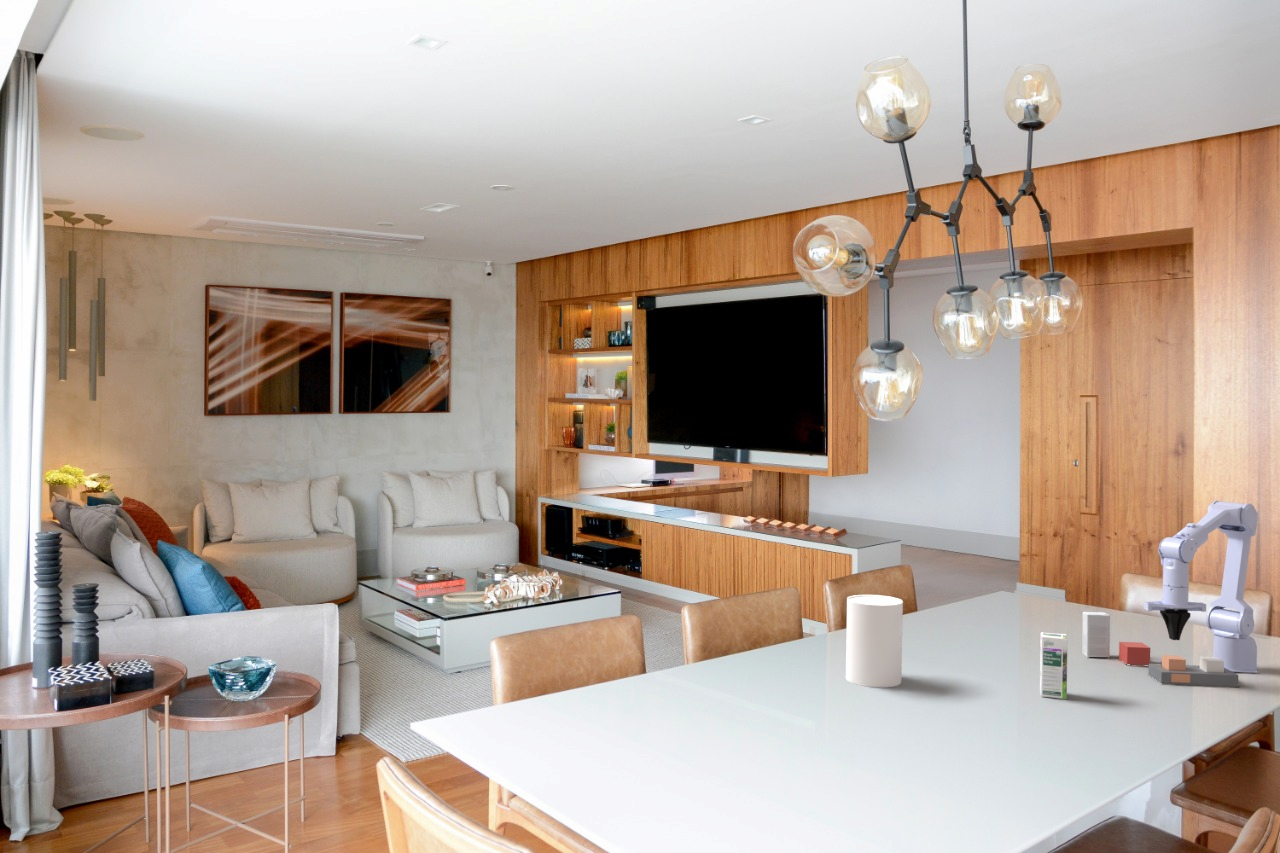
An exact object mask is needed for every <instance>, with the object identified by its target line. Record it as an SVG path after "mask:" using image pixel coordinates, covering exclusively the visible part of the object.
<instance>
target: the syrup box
mask: <svg viewBox="0 0 1280 853" xmlns="http://www.w3.org/2000/svg"><path fill="white" fill-rule="evenodd" d="M1039 640H1040V643H1039V645H1040V647H1039V648H1040V649H1039V650H1040V651H1039V655H1040V656H1039V658H1040V659H1039V661H1040V662H1039V694H1040V698H1053V699H1060V700H1067V695H1068V694H1067V693H1068V692H1067V691H1068V690H1067V689H1068V688H1067V687H1068V640H1069V639H1068V636H1067V634H1066V633H1053V632H1043V631H1042V632H1040V639H1039Z"/></svg>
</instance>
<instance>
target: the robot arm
mask: <svg viewBox="0 0 1280 853" xmlns="http://www.w3.org/2000/svg"><path fill="white" fill-rule="evenodd" d="M1258 517H1259V514H1258V511H1257V509H1256V508H1255V505H1254V504H1252V503H1240V502H1231V501H1229V502H1227V501H1219V500H1214V501H1213V502H1211V504H1209V505H1208V507H1207V513H1206V514H1205V515H1204V516H1203V517H1202V518H1201V519H1200V520H1199V521H1198V522H1197V523H1195V522H1193V523H1191V522H1189V523H1187V524H1186V526H1184V528H1182V529H1181V530H1180V531H1178V532H1177V533H1176V534H1174V535H1173V536H1172V537H1171V536H1170V537H1169V536H1168V537H1167V536H1166V537H1165V538H1163V539H1162V540H1160V542H1159V546H1158V548H1157V552H1158V556H1159V558H1160V565H1161V567H1162V600H1156V601H1144V602H1143V603H1144V605H1143V608H1144V610H1145V611H1148V612H1152V611H1159V613H1160V615H1161V617H1162V620H1163V621H1164V624H1165V626H1166V630H1167V633H1168V638H1169V639H1170V640H1171V641H1180V640H1181V635H1182V634H1183V630H1184V627H1185V626H1186V624H1187V622H1188V620H1189V619H1190V618H1191V613H1190V612H1202V613H1203V612H1204V613H1205V612H1206V614H1205V615H1206V616H1205V624H1206V626H1207V628H1208V629H1209V630H1210V634H1213V645H1212V646H1213V648H1212V649H1213V651H1212V652H1213V653H1212V657H1217V658H1219V659H1221V660H1223V661H1224V667H1225V668H1226V669H1228V670H1230V671H1232V672H1234V673H1249V674H1252V673H1253V674H1258V673H1259V671H1258V670H1257V667H1258V666H1257V664H1258V663H1257V662H1258V645H1257V641H1256V640H1255V638H1254V637H1253V636H1251V634H1252V633H1253V631H1254V629H1255V620H1254V609H1253V608H1252V606H1251V605H1249V604H1248V602H1246V600H1244V597H1245V587H1246V583H1247V582H1246V581H1247V572H1248V566H1249V557H1250V552H1251V551H1250V550H1251V543H1252V537H1254V536H1256V533H1257V526H1258V519H1259V518H1258ZM1216 529H1217V530H1219V531H1220V532H1221V533H1222V534H1225V536H1226V537H1227V545H1226V552H1225V553H1226V554H1225V560H1224V569H1223V576H1222V584H1221V591H1220V596H1219V597H1217V598H1215V599H1214V600H1212V601H1211V602H1210V604H1209V608H1208V610H1207V604H1206V603H1203V602H1195V601H1194V602H1193V601H1189V593H1190V591H1189V590H1190V589H1189V585H1190V582H1189V580H1190V562H1192V561H1193V560H1194V558H1195V554H1196V553H1197V551H1198V549H1199V548H1200V547H1201V546H1202V545H1204V544H1205V543H1206V542H1208V539H1209V534H1210V533H1213V532H1214V531H1215V530H1216ZM1231 609H1233V610H1231ZM1236 610H1237V611H1236Z"/></svg>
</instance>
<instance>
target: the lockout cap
mask: <svg viewBox="0 0 1280 853" xmlns="http://www.w3.org/2000/svg"><path fill="white" fill-rule="evenodd" d="M1119 659H1120V660H1121V661H1123V662H1124V663H1126V664H1130V665H1148V666H1147V667H1149V664H1151V647H1150V646H1148V645H1146V644H1145V643H1143V642H1136V641H1135V642H1133V641H1119V643H1118V660H1119ZM1120 660H1119V661H1120ZM1121 661H1120V662H1121ZM1123 662H1122V663H1123ZM1124 663H1123V664H1124Z"/></svg>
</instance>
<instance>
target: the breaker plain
mask: <svg viewBox="0 0 1280 853" xmlns="http://www.w3.org/2000/svg"><path fill="white" fill-rule="evenodd" d="M1199 666H1200V669H1202V670H1203V671H1205V672H1216V673H1224V661H1223V660H1221V659H1219V658H1217V657H1213V656H1199Z"/></svg>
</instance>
